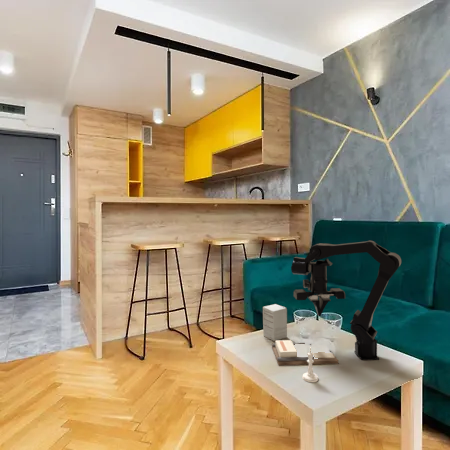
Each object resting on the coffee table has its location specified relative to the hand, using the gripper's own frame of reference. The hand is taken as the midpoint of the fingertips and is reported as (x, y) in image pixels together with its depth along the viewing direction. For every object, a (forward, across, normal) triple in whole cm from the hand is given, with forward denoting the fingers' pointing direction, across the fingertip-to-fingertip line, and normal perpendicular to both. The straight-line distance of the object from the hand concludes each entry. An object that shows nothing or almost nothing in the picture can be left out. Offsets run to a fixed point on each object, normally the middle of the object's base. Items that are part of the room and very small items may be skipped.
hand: (319, 315), depth 129 cm
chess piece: (+12, +10, +24) cm, 29 cm away
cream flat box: (+11, +15, +7) cm, 20 cm away
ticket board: (+12, +8, +8) cm, 16 cm away
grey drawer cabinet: (+12, +16, -11) cm, 22 cm away
